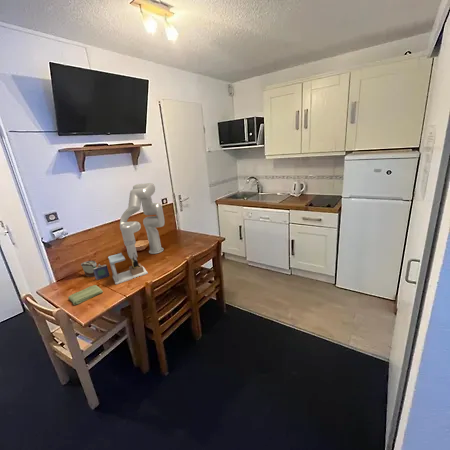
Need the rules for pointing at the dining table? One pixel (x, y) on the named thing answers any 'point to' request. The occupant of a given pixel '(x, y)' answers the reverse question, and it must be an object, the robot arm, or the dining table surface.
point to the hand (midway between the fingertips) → (135, 265)
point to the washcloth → (85, 294)
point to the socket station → (127, 274)
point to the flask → (101, 272)
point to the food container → (89, 267)
